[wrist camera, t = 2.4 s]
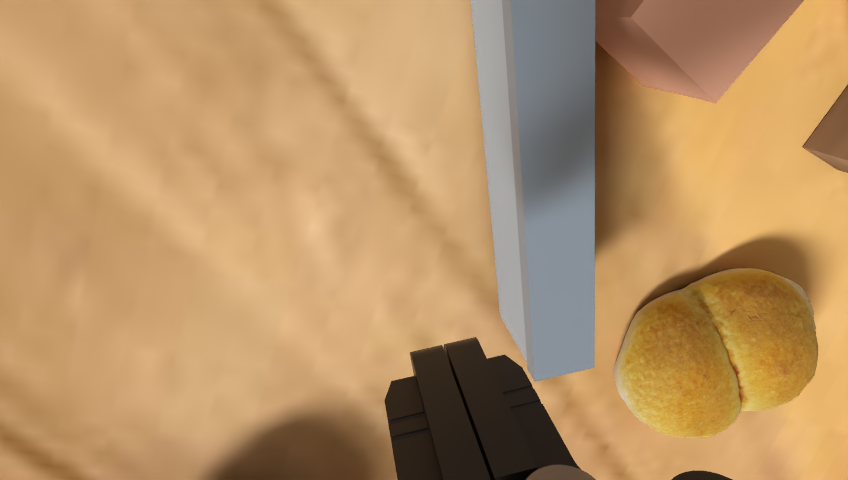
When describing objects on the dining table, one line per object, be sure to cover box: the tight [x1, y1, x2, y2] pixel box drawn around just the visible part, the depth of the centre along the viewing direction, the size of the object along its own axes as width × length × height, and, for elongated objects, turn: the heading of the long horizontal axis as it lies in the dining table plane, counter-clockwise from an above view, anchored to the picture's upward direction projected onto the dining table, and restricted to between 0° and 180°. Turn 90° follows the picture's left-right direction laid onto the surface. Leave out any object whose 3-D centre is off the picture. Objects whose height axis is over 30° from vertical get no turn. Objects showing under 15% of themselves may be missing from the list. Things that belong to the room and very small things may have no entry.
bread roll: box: [614, 268, 818, 438], centre depth 23 cm, size 8×9×4 cm
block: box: [595, 0, 804, 103], centre depth 16 cm, size 4×4×4 cm
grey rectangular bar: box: [471, 0, 595, 382], centre depth 17 cm, size 14×2×4 cm, turn 8°
